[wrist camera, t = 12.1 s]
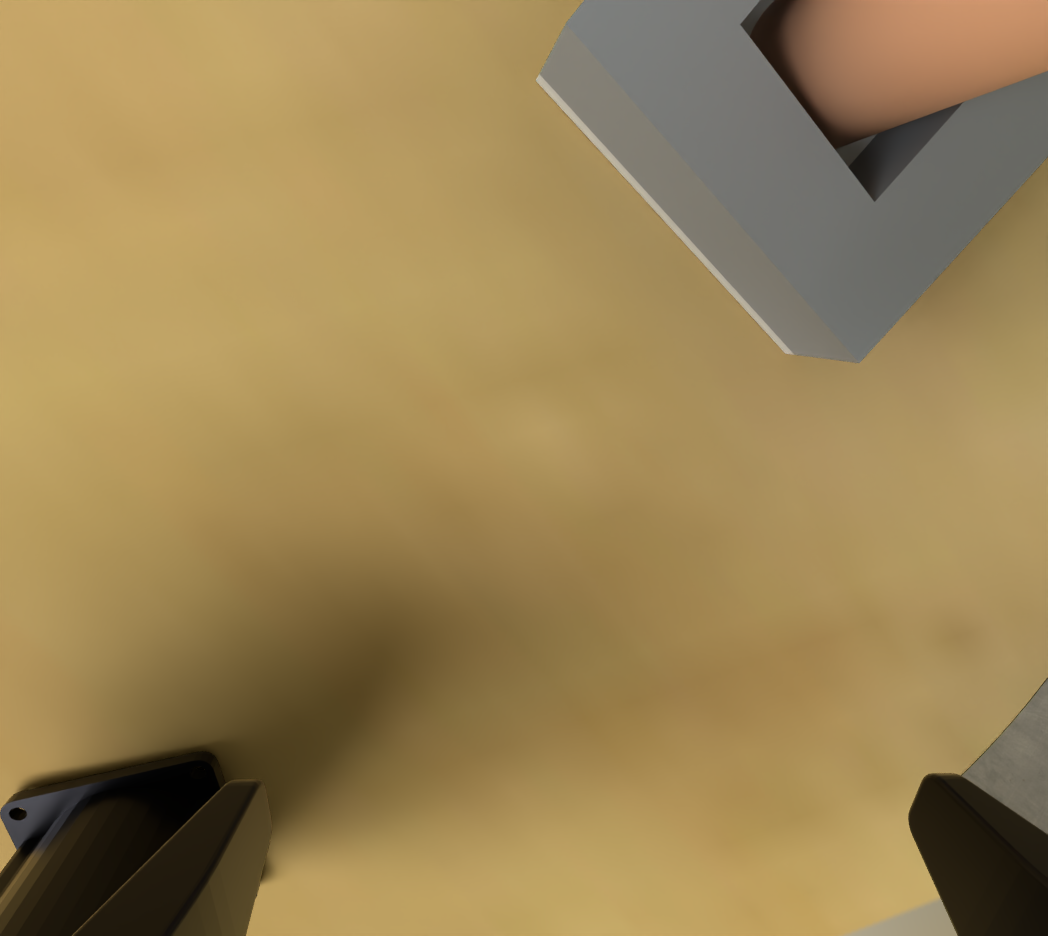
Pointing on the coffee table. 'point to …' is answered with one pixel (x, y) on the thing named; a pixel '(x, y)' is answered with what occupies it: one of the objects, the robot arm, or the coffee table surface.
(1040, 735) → the hip flask
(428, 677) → the coffee table surface
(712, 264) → the socket block
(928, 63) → the pin
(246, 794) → the robot arm
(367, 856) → the coffee table surface
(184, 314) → the coffee table surface
